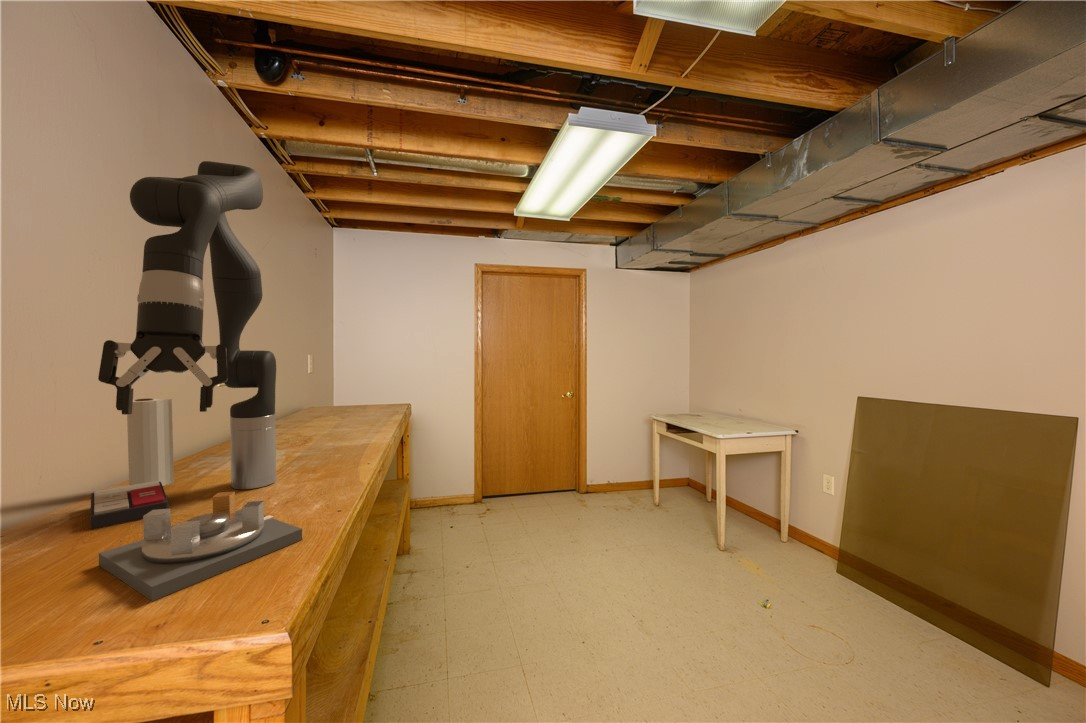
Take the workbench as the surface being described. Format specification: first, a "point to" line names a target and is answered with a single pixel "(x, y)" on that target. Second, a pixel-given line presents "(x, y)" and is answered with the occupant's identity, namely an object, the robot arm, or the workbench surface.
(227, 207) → the robot arm
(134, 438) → the paper towel roll
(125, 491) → the calculator
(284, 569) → the workbench surface
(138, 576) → the base plate
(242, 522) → the lugged metal dish
